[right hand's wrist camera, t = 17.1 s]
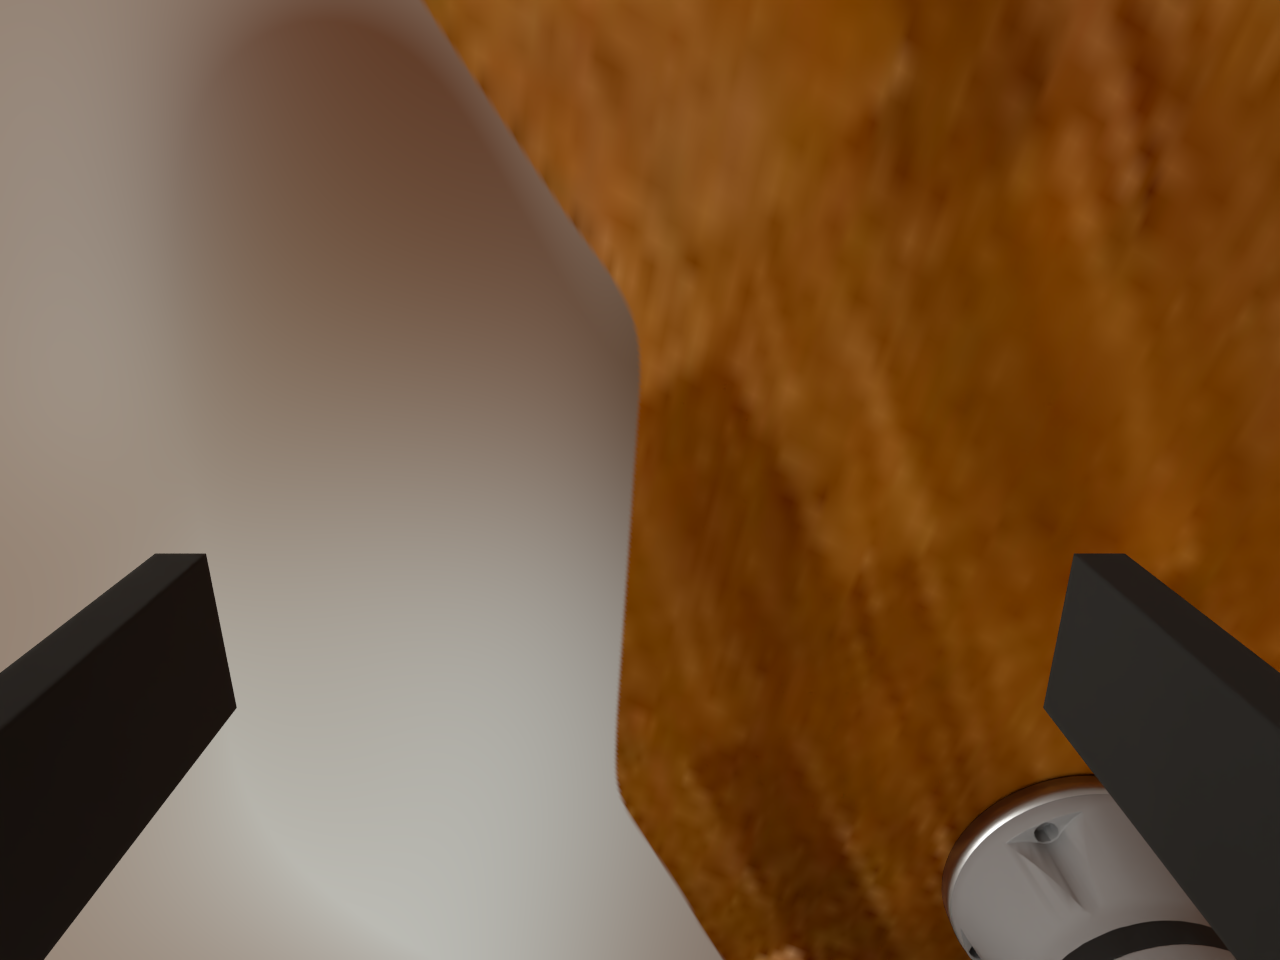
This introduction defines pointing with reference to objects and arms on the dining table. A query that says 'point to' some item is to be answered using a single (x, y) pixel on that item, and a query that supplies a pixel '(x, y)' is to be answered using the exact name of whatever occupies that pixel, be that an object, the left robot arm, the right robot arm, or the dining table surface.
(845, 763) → the dining table surface
